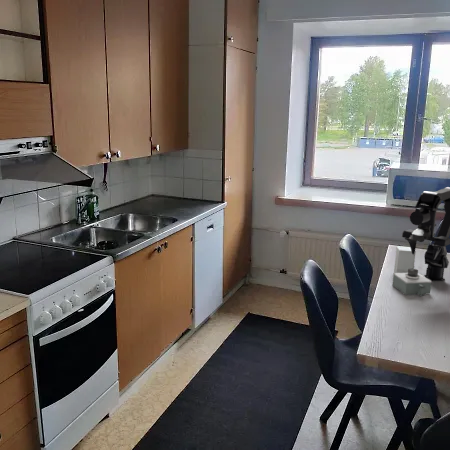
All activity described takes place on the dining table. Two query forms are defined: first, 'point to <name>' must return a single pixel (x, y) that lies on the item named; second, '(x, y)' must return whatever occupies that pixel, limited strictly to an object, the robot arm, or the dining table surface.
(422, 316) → the dining table surface
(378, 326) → the dining table surface
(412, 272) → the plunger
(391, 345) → the dining table surface
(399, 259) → the supplement box
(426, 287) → the pale grey box
